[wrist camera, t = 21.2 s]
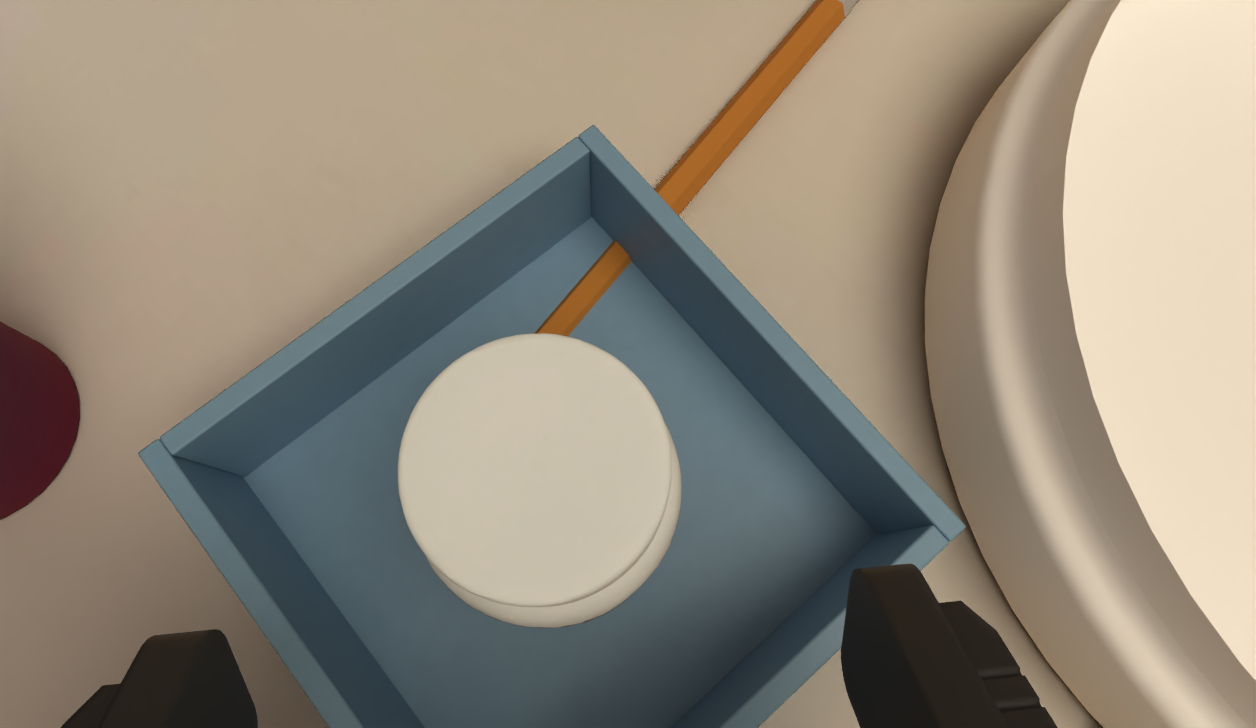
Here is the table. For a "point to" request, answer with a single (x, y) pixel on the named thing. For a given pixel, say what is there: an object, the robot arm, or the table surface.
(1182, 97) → the white round tray
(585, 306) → the pencil
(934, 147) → the table surface
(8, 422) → the cup
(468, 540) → the pill bottle
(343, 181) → the table surface
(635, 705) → the open blue box
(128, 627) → the table surface
